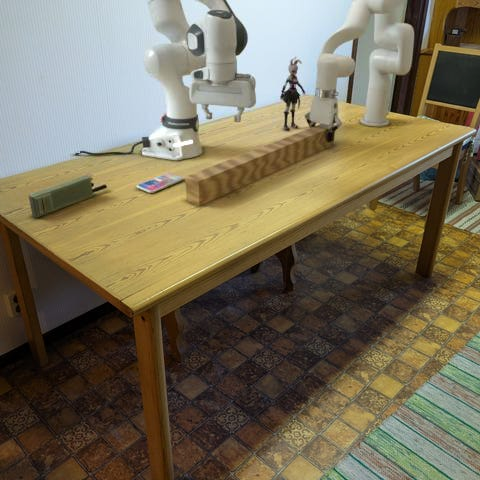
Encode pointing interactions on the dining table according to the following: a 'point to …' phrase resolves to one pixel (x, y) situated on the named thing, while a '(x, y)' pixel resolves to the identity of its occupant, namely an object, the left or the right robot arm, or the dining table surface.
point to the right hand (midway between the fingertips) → (321, 138)
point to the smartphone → (159, 182)
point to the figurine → (291, 93)
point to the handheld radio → (62, 195)
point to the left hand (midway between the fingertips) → (223, 120)
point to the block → (254, 165)
